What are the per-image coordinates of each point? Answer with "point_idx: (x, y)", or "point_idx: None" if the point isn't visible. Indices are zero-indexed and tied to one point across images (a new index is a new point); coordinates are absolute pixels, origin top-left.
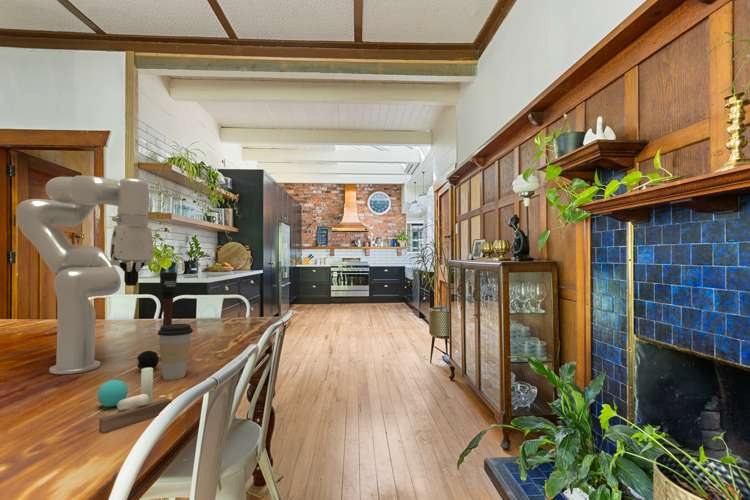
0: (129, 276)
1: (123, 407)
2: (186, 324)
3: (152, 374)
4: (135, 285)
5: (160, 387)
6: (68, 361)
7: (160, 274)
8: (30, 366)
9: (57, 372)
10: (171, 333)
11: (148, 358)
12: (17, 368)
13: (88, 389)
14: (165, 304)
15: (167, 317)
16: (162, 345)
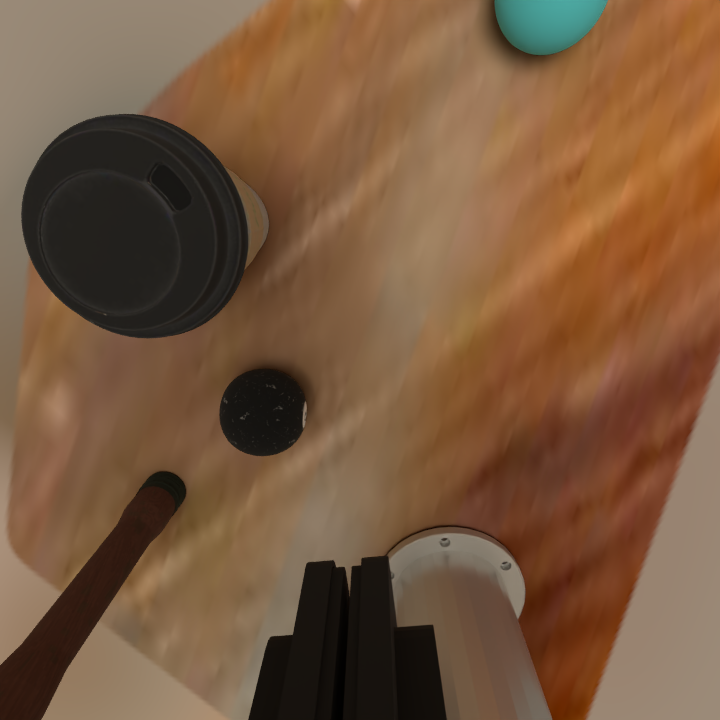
0: (403, 706)
1: None
2: (38, 243)
3: None
4: (320, 564)
5: (320, 113)
6: (492, 581)
7: None
8: None
9: (514, 560)
10: (190, 139)
11: (270, 382)
12: (563, 709)
13: (509, 302)
14: (18, 705)
15: (62, 621)
16: (247, 209)
